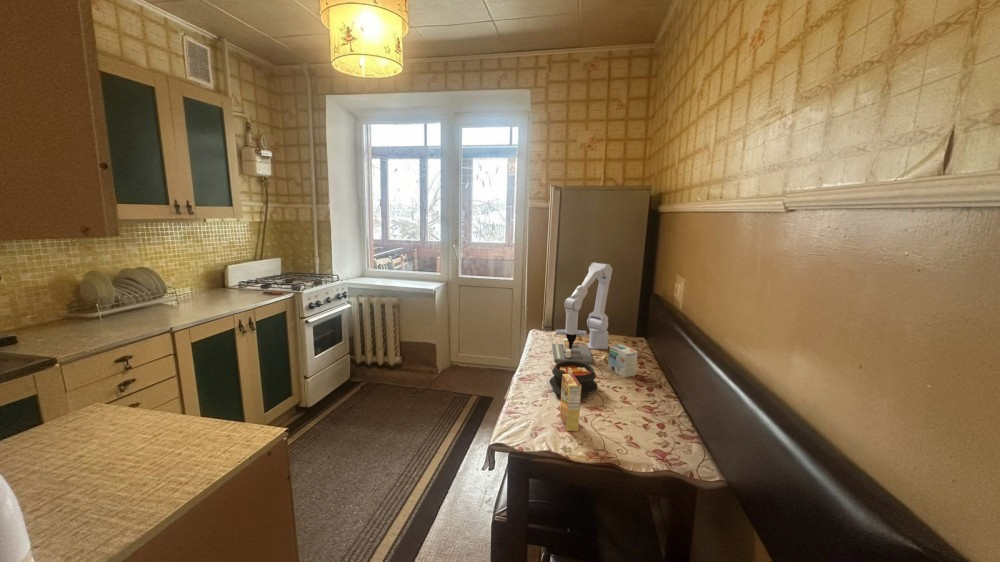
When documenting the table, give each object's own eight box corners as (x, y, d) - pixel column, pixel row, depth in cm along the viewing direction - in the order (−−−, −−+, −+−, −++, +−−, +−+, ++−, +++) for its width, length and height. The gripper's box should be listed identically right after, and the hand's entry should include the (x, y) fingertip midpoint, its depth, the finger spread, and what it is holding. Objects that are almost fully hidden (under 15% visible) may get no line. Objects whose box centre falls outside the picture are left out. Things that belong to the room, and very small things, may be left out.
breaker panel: (587, 348, 194) (587, 338, 193) (593, 364, 172) (594, 353, 171) (552, 346, 195) (552, 336, 194) (554, 362, 174) (554, 351, 173)
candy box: (559, 416, 125) (561, 373, 123) (571, 416, 126) (573, 373, 123) (566, 431, 117) (568, 385, 114) (579, 431, 117) (582, 385, 115)
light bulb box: (607, 368, 168) (608, 345, 166) (618, 366, 170) (620, 343, 169) (624, 377, 158) (626, 353, 156) (636, 375, 161) (638, 351, 159)
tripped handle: (567, 349, 185) (568, 342, 184) (568, 351, 182) (568, 344, 181) (563, 349, 185) (564, 342, 185) (564, 351, 182) (564, 344, 182)
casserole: (594, 406, 133) (595, 384, 132) (542, 397, 139) (543, 376, 138) (599, 379, 156) (601, 360, 155) (555, 372, 162) (556, 354, 161)
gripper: (557, 323, 178) (555, 351, 180) (588, 325, 176) (586, 352, 179) (556, 319, 185) (555, 346, 187) (586, 321, 183) (584, 347, 186)
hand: (570, 349), depth 183 cm, fingers closed
